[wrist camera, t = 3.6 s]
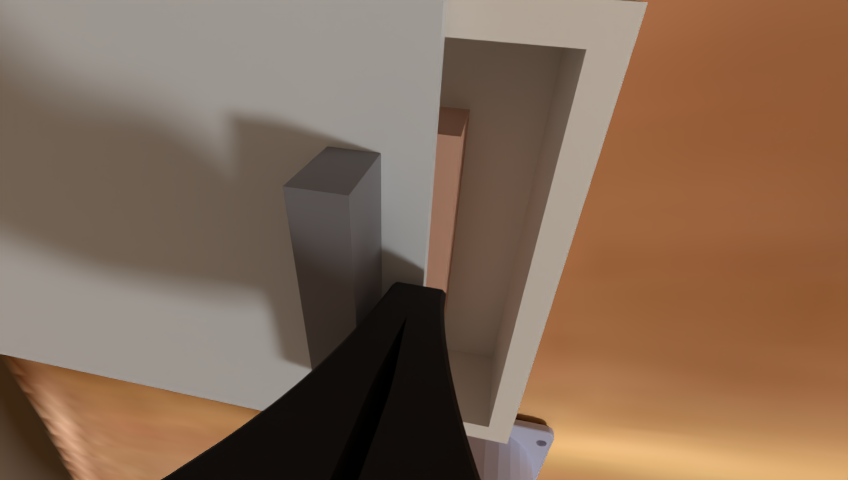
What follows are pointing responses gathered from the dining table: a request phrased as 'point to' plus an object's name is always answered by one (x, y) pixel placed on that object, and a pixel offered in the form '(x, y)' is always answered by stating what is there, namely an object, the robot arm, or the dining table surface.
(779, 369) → the dining table surface
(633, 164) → the dining table surface
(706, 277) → the dining table surface
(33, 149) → the lid
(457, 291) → the box
